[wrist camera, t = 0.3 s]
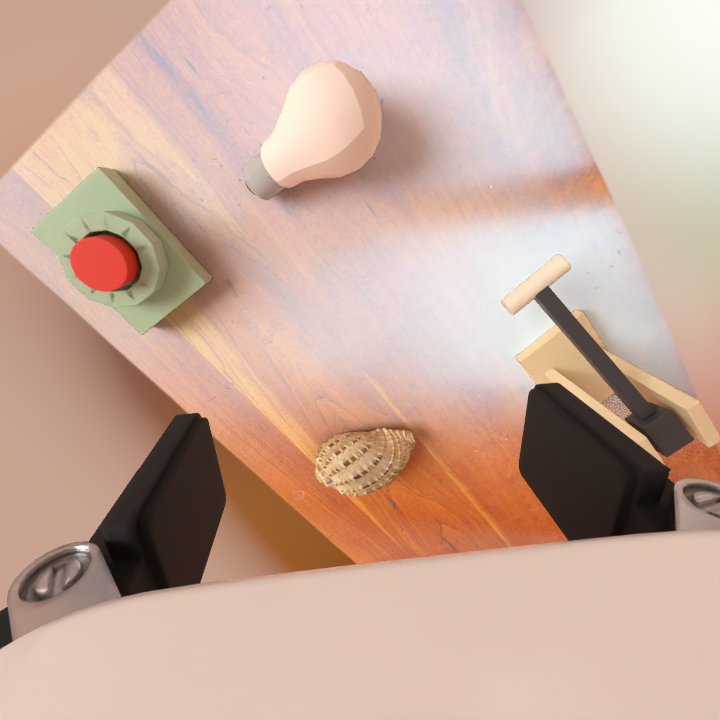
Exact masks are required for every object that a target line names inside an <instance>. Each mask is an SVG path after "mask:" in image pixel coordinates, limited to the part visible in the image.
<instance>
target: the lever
mask: <svg viewBox="0 0 720 720" xmlns="http://www.w3.org/2000/svg"><path fill="white" fill-rule="evenodd" d="M570 269H571V266H570V264H569V262H568V261H567V260H566V259H565V258H564V257H563V256H561V255H558V254H557V255H555V256H554V257H553V258H552V259H551V260H549V261H548V262H547V263H546V264H545V265H543V266H542V267H541V268H540V269H539V270H537V271H536V272H535V273H534V274H532V275H531V276H530V277H529V278H528V279H526V280H525V281H524V282H523V283H522V284H520V285H519V286H518V287H517V288H516V289H514V290H513V291H512V292H511V293H509V294H508V295H507V296H506V297H505V298H503V299H502V300H501V304H502V305H503V307H504V308H505V309H506V310H507V311H508V312H509V313H510V314H512V315H515V314H516V313H517V312H518V311H520V310H521V309H522V308H523V307H525V306H526V305H527V304H528V303H529V302H531V301H532V300H533V299H534V300H535V301H536V302H537V303H538V304H539V305H540V306H541V308H542V309H543V310H544V311H545V312H546V313H547V315H548V316H549V317H550V318H551V319H552V320H553V322H554V323H555V324H556V325H557V326H558V327H559V329H560V330H561V331H562V332H563V333H564V334H565V336H566V337H567V338H568V339H569V340H570V341H571V342H572V344H573V345H574V346H575V347H576V348H577V349H578V351H579V352H580V353H581V354H582V355H583V356H584V358H585V359H586V360H587V361H588V362H589V363H590V365H591V366H592V367H593V368H594V369H595V370H596V371H597V373H598V374H599V375H600V376H601V377H602V378H603V380H604V381H605V382H606V383H607V384H608V385H609V387H610V388H611V389H612V390H613V391H614V392H615V394H616V395H617V396H618V397H619V398H620V399H621V401H622V402H623V403H624V404H625V405H626V406H627V407H628V409H629V410H630V411H631V412H632V414H631V415H629V416H628V417H626V418H625V420H626V421H627V423H628V424H629V425H631V426H632V427H633V428H635V429H636V430H637V431H639V432H640V433H641V434H643V435H644V436H645V437H647V439H648V440H649V442H650V443H651V444H652V446H653V447H654V449H655V450H656V451H657V452H659V453H661V454H662V455H664V456H666V457H669V456H670V455H672V454H673V453H675V452H676V451H678V450H679V449H681V448H682V447H684V446H685V445H687V444H688V443H690V442H691V441H693V440H694V438H693V437H692V435H691V434H690V433H689V432H688V431H687V430H686V428H685V427H684V426H683V425H682V424H681V423H680V421H679V420H678V419H677V418H676V417H675V416H674V414H673V413H672V412H671V411H670V410H668V409H666V408H664V407H661V406H659V405H656V404H654V403H652V402H647V400H646V399H645V398H644V397H643V396H642V395H641V393H640V392H639V391H638V390H637V389H636V388H635V386H634V385H633V384H632V383H631V382H630V381H629V380H628V378H627V377H626V376H625V375H624V374H623V373H622V371H621V370H620V369H619V368H618V367H617V366H616V364H615V363H614V362H613V361H612V360H611V359H610V357H609V356H608V355H607V354H606V353H605V352H604V350H603V349H602V348H601V347H600V346H599V345H598V343H597V342H596V341H595V340H594V339H593V338H592V336H591V335H590V334H589V333H588V332H587V331H586V330H585V328H584V327H583V326H582V325H581V324H580V323H579V321H578V320H577V319H576V318H575V317H574V316H573V314H572V313H571V312H570V311H569V310H568V309H567V307H566V306H565V305H564V304H563V303H562V302H561V300H560V299H559V298H558V297H557V296H556V295H555V293H554V292H553V291H552V290H551V289H550V288H549V286H550V285H552V284H553V283H554V282H555V281H557V280H558V279H559V278H560V277H562V276H563V275H564V274H565V273H566V272H568V271H569V270H570Z"/></svg>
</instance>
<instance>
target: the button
mask: <svg viewBox="0 0 720 720" xmlns="http://www.w3.org/2000/svg"><path fill="white" fill-rule="evenodd" d="M70 263H71V267H72V269H73V272H74V273H75V275H76V276H77V277H78V279H79V280H80V281H81V282H83V283H84V284H85V285H87V286H88V287H90V288H92V289H95V290H98V291H104V292H108V291H114V290H116V289H119V288H121V287H123V286H125V285H128V284H129V283H131V282H132V281H133V280H134V279H135V278H136V276H137V274H138V270H139V263H138V259H137V256H136V254H135V252H134V251H133V249H132V248H131V247H130V246H129V245H128V244H127V243H126V242H125V241H123V240H122V239H120V238H118V237H115V236H111V235H99V236H93V237H87V238H84V239H81V240H79V241H78V242H77V243H76V244H75V245H74V246H73V248H72V250H71V253H70Z"/></svg>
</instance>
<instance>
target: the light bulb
mask: <svg viewBox="0 0 720 720" xmlns="http://www.w3.org/2000/svg"><path fill="white" fill-rule="evenodd" d="M381 126H382V111H381V108H380V104H379V101H378V97H377V93H376V90H375V88H374V87H373V86H372V85H371V83H370V82H369V81H368V79H367V78H366V77H365V76H364V74H363V73H362V72H360V71H359V70H357V69H355V68H353V67H351V66H349V65H347V64H345V63H342V62H340V61H320V62H318V63H316V64H314V65H312V66H311V67H309V68H307V69H305V70H303V71H302V72H301V73H300V75H299V76H298V77H297V79H296V80H295V81H294V83H293V84H292V85H291V87H290V88H289V91H288V94H287V97H286V100H285V103H284V106H283V109H282V112H281V115H280V117H279V119H278V122H277V124H276V127H275V129H274V131H273V133H272V134H271V136H270V137H269V138H268V139H267V140H266V141H265V142H264V144H263V145H262V148H261V153H259V154H258V155H257V156H255V157H254V158H253V159H252V160H250V161H249V162H248V163H247V164H246V165H244V167H243V174H244V178H245V182H246V185H247V187H248V188H249V190H250V191H251V192H252V193H253V194H255V195H257V196H258V197H260V198H262V199H264V200H269V199H271V198H272V197H273V196H275V195H276V194H277V193H279V192H280V191H281V190H283V189H284V188H285V187H287V188H291V187H293V186H295V185H297V184H299V183H301V182H303V181H307V180H313V179H321V178H335V177H342V176H344V175H347V174H349V173H352V172H354V171H356V170H358V169H360V168H361V167H362V166H363V165H364V164H365V163H366V162H367V161H368V160H369V159H370V158H371V157H372V156H373V154H374V152H375V150H376V147H377V145H378V143H379V140H380V138H381Z"/></svg>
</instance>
